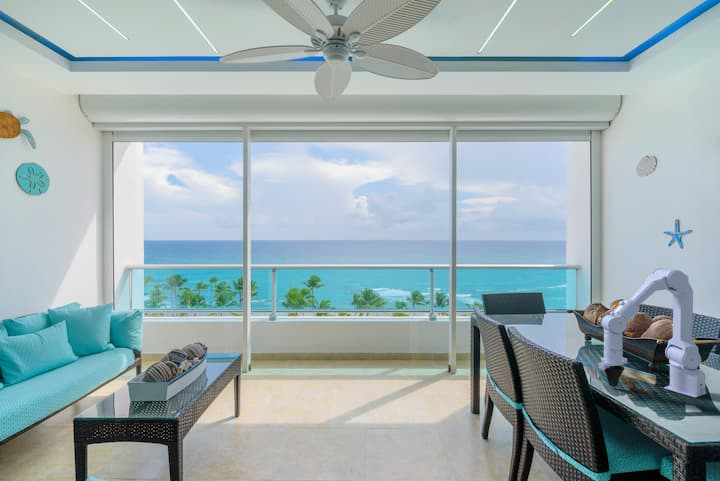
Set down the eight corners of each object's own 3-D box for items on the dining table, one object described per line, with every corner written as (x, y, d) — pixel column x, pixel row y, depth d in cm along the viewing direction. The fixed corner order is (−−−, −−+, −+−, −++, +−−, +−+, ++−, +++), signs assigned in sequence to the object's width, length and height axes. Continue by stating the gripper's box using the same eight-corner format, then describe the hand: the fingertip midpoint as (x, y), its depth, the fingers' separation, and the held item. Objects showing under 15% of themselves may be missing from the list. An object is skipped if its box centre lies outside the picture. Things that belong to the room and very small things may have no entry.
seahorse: (631, 392, 141) (632, 387, 141) (616, 378, 155) (617, 373, 155) (649, 395, 139) (650, 390, 139) (632, 381, 153) (633, 376, 153)
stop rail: (656, 383, 148) (656, 375, 148) (654, 384, 148) (654, 375, 148) (622, 374, 159) (622, 366, 159) (620, 374, 159) (620, 366, 159)
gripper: (613, 343, 151) (613, 378, 151) (590, 348, 144) (590, 385, 144) (633, 348, 145) (633, 385, 145) (610, 353, 138) (610, 392, 138)
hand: (613, 385), depth 144 cm, fingers closed
